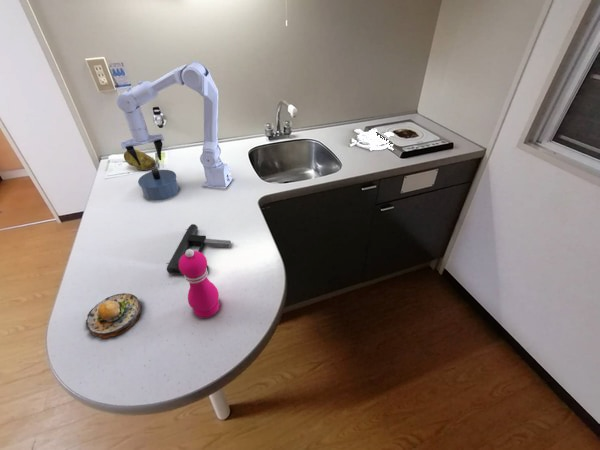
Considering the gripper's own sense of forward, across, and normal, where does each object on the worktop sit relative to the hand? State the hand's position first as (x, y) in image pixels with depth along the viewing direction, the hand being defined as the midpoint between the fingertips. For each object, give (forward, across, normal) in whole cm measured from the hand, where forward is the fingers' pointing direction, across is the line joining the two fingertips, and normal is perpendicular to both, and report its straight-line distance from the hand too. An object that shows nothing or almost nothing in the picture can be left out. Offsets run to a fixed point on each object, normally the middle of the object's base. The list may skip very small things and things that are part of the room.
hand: (149, 161), depth 118 cm
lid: (+4, 0, -7) cm, 8 cm away
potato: (+11, -2, +19) cm, 22 cm away
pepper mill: (+11, -4, -69) cm, 70 cm away
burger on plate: (+11, -24, -60) cm, 65 cm away
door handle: (+11, +2, -49) cm, 50 cm away
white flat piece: (+11, +105, -15) cm, 106 cm away
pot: (+10, 0, -7) cm, 13 cm away
